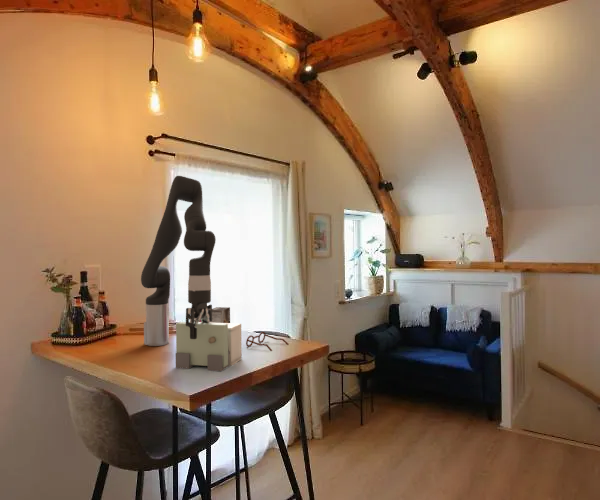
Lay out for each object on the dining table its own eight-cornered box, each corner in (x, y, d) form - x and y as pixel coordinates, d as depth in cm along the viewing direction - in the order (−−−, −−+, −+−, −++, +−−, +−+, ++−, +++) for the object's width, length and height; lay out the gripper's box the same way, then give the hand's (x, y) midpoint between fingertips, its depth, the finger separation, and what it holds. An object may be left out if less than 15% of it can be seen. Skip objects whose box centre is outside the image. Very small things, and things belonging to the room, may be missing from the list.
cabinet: (174, 367, 147) (174, 329, 147) (197, 356, 162) (197, 321, 162) (222, 371, 142) (222, 332, 142) (241, 359, 158) (241, 323, 158)
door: (173, 364, 147) (173, 324, 147) (180, 361, 151) (180, 321, 151) (222, 368, 142) (221, 326, 142) (228, 364, 147) (227, 323, 147)
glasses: (263, 342, 188) (263, 330, 188) (289, 345, 181) (289, 333, 181) (245, 348, 176) (245, 336, 176) (271, 352, 170) (271, 339, 170)
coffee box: (216, 344, 181) (216, 306, 181) (230, 345, 180) (230, 307, 180) (207, 349, 172) (207, 310, 172) (222, 350, 171) (222, 310, 171)
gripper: (199, 287, 154) (199, 333, 153) (178, 289, 140) (178, 340, 140) (218, 287, 152) (218, 334, 151) (199, 290, 138) (199, 341, 138)
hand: (199, 336), depth 146 cm, fingers open, 8 cm apart
